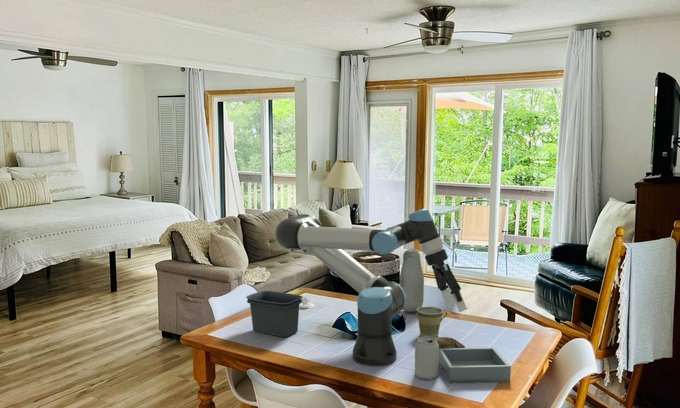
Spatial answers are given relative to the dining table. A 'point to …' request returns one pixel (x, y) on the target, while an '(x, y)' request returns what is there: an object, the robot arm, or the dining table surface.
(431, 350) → the can
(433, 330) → the ceramic cup
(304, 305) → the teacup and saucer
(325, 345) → the dining table surface
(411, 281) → the gray bottle
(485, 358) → the tote
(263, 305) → the storage bin
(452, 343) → the bread roll
